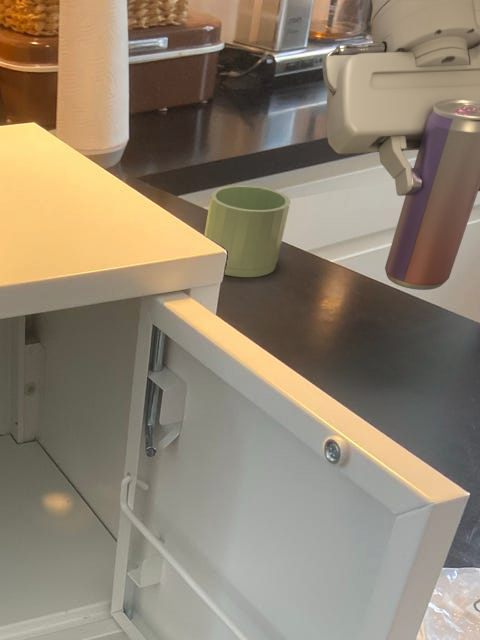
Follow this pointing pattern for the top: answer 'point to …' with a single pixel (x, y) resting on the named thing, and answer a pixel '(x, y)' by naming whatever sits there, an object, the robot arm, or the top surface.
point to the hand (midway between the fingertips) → (447, 190)
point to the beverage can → (438, 198)
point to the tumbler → (248, 227)
